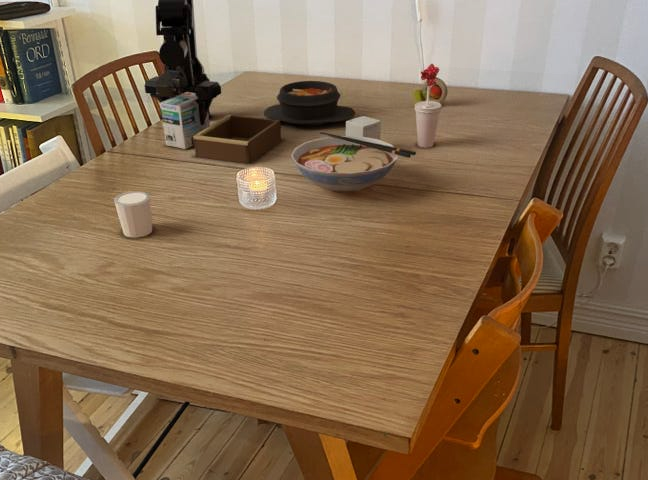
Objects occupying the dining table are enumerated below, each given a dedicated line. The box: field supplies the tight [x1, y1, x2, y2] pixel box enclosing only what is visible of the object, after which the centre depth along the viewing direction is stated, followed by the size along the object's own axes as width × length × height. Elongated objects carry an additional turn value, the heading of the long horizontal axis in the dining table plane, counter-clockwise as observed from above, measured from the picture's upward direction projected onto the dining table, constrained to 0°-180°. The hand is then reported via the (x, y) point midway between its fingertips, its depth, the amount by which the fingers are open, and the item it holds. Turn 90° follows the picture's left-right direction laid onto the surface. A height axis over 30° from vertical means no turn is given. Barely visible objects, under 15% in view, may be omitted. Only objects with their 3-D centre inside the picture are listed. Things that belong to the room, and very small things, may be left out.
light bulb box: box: [159, 92, 211, 150], centre depth 184 cm, size 11×7×11 cm, turn 148°
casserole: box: [262, 80, 356, 127], centre depth 196 cm, size 25×19×8 cm
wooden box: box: [193, 114, 282, 165], centre depth 181 cm, size 15×18×5 cm
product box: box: [345, 115, 382, 140], centre depth 176 cm, size 6×6×7 cm
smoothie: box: [413, 85, 442, 149], centre depth 176 cm, size 6×6×14 cm
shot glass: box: [113, 191, 153, 239], centre depth 143 cm, size 7×7×7 cm
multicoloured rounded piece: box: [412, 63, 449, 105], centre depth 203 cm, size 6×11×9 cm
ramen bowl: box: [290, 131, 417, 193], centre depth 158 cm, size 25×23×8 cm
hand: (186, 122), depth 184 cm, fingers open, 9 cm apart
